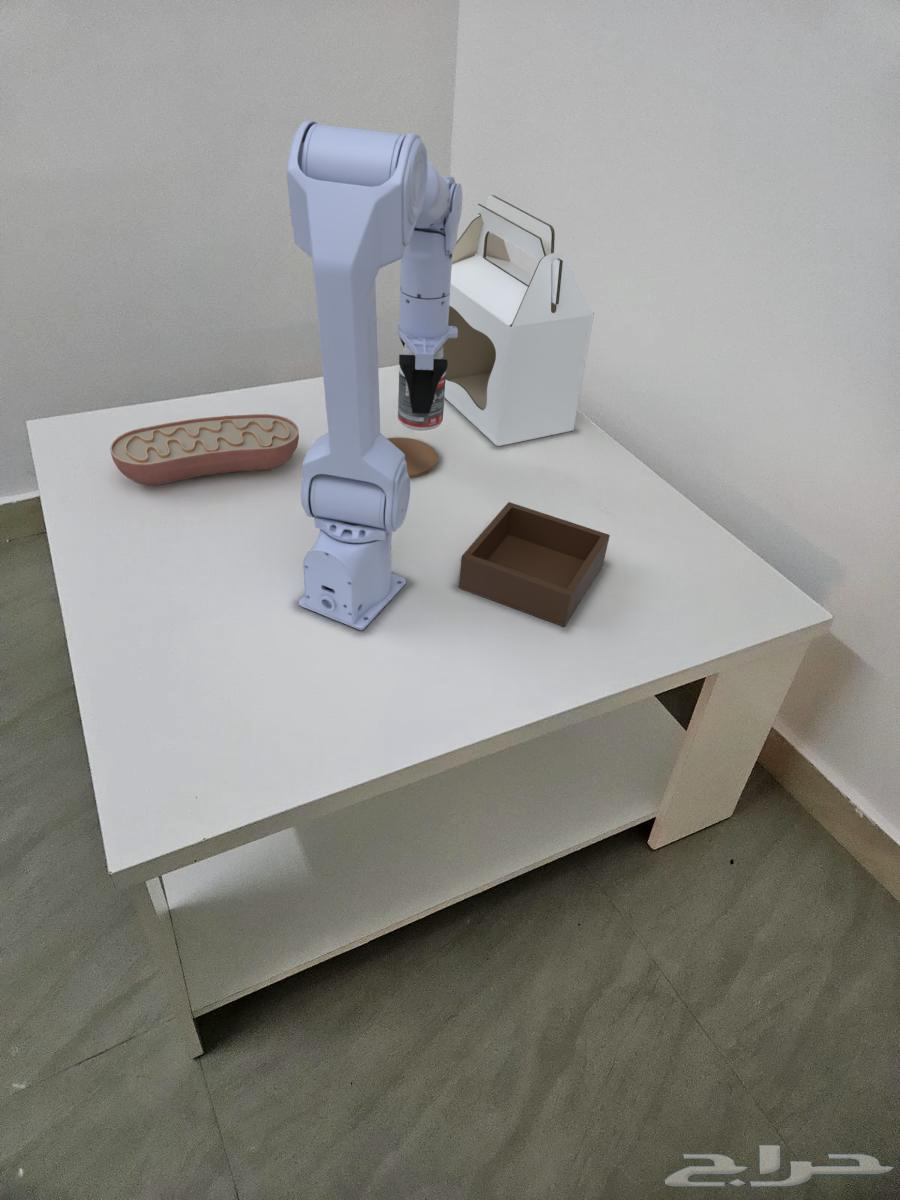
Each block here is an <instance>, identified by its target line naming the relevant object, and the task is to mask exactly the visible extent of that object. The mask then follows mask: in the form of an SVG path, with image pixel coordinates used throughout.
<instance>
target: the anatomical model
mask: <svg viewBox="0 0 900 1200" xmlns="http://www.w3.org/2000/svg"><path fill="white" fill-rule="evenodd" d="M299 439H300V430H299V426H298V425H297V423H295V422H294V421H293V420H291V419H289V418H287V417H285V416H281V415H277V414H270V413H269V414H268V413H263V414H262V413H256V414H255V413H253V414H234V415H219V416H209V417H199V418H191V419H184V420H177V421H172V422H166V423H161V424H156V425H155V424H154V425H150V426H145V427H140V428H136V429H132V430H129V431H126V432H124V433H122V434H120V435H119V436H117V437H116V438H115V439H114V440H113V441H112V442H111V444H110V448H109V451H110V455H111V458H112V461H113V463H114V465H115V467H116V468H117V469H118V471H120V473H121V474H122V475H123V476H125V477H126V478H127V479H128V480H130V481H132V482H135V483H138V484H139V485H140V484H141V485H145V486H157V485H162V484H168V483H172V482H177V481H181V480H186V479H190V478H191V479H192V478H198V477H203V476H208V475H217V474H224V473H225V474H226V473H233V472H246V471H247V472H248V471H261V470H272V469H276V468H279V467H281V466H283V465H285V463H286V462H288V461H289V460H290V459H291V458H292V457H293V455H294V454H295V452H296V450H297V448H298V444H299Z"/></svg>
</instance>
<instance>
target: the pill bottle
mask: <svg viewBox="0 0 900 1200" xmlns="http://www.w3.org/2000/svg"><path fill="white" fill-rule="evenodd" d="M403 355H414V353H413V352H412V351H411V350H410V349H409V347H408V346H407V345H406V344H405V345H404V347H403ZM442 358H443V345H442V346H441V347H440V349H439V350H438V351H437V352H436V354H435V355H434V359H442ZM445 379H446V371H445V373H444V374H443V376H442V377H441V379H440V381H439V383H438V386H437V388H436V392H435V396H434V400H433V404H432V407H431V410H430V412H429V413H413V412H412V408H411V404H410V397H409V390H408V385H407V381H406V378H405V376H404V374H403V372H402V370H401V368H400V367H399V368H398V395H397V396H398V398H397V399H398V400H397V401H398V402H397V419H398V422H399V423H400V424H401V425H402V426H403V427H404V428H407V429H410V430H414V431H420V432H425V431H430V430H434V429H436V428H438V427H440V426H441V425H442V423H443V421H444V420H443V419H444V411H445V410H444V409H445V397H444V394H445Z"/></svg>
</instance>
